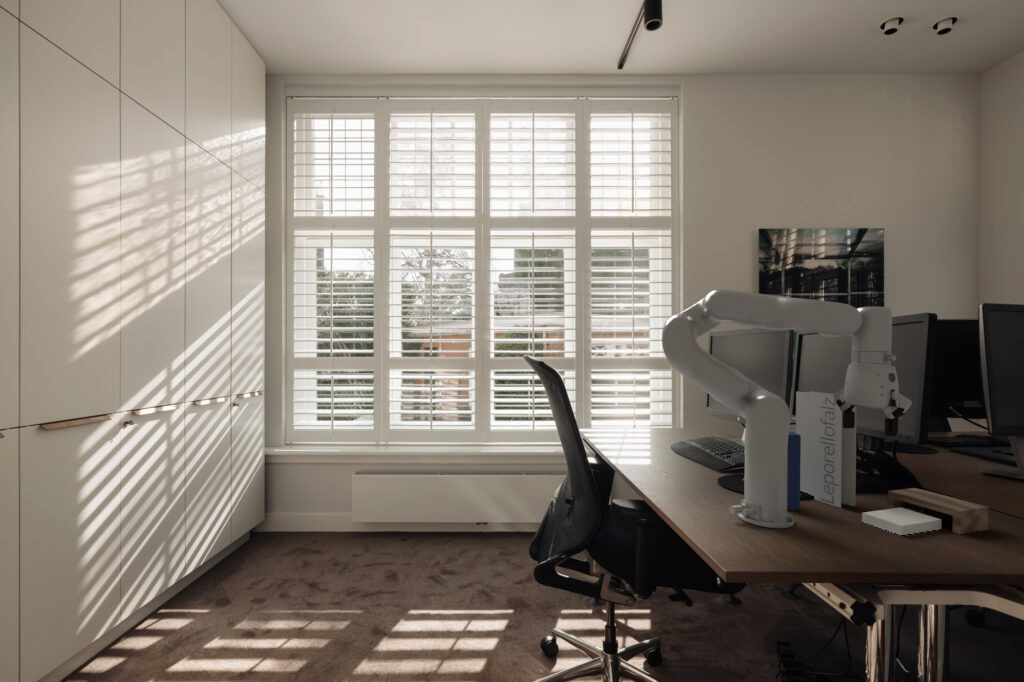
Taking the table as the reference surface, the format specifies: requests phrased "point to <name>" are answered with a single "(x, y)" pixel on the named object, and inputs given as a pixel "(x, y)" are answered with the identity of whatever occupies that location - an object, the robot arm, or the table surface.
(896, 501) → the overhang shelf
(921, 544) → the table surface
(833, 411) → the brochure
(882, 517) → the white sponge pad
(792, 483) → the electronic device
